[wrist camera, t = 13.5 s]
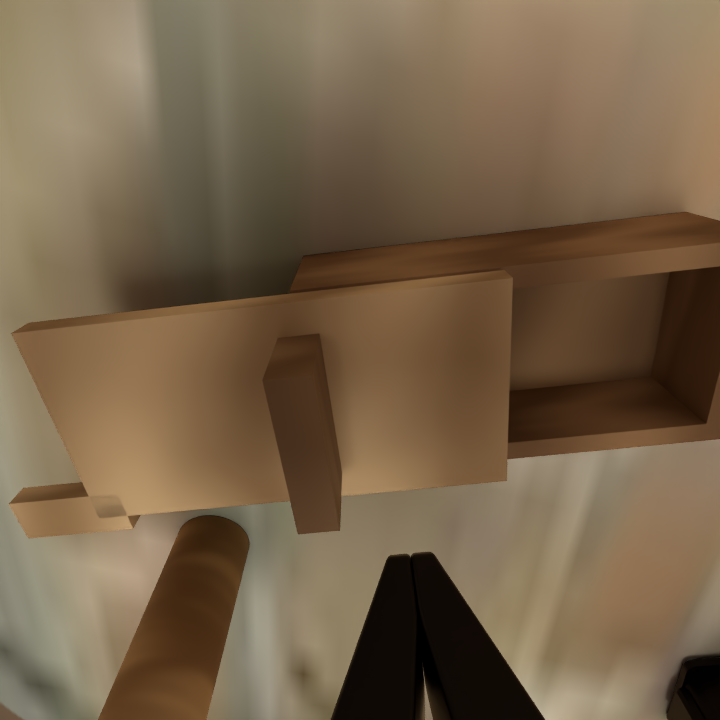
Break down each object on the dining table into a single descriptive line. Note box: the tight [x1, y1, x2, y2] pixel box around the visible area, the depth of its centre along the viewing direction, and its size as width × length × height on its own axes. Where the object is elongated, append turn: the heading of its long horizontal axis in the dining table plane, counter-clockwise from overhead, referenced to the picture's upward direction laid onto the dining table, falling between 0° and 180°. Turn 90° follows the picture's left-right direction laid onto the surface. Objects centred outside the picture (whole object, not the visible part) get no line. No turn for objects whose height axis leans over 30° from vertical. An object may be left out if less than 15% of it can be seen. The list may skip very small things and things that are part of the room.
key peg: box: [98, 516, 249, 720], centre depth 18 cm, size 4×4×14 cm
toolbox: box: [290, 212, 720, 459], centre depth 18 cm, size 22×10×4 cm, turn 96°
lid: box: [9, 270, 513, 538], centre depth 14 cm, size 17×8×3 cm, turn 96°
